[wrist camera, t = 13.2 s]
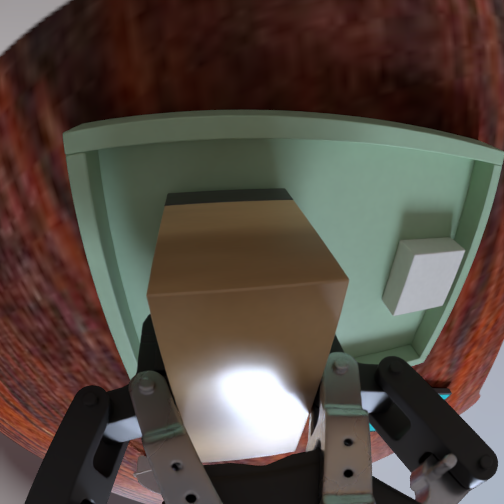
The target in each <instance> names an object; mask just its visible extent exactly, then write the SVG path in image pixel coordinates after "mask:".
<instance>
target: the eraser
mask: <svg viewBox="0 0 504 504" xmlns="http://www.w3.org/2000/svg"><path fill="white" fill-rule="evenodd" d="M348 284H349V278H348V276H347V275H346V273H345V272H344V270H343V269H342V268H341V266H340V265H339V263H338V262H337V260H336V259H335V257H334V256H333V254H332V253H331V252H330V250H329V249H328V247H327V246H326V244H325V243H324V242H323V240H322V239H321V237H320V236H319V234H318V233H317V232H316V230H315V229H314V227H313V226H312V225H311V223H310V222H309V220H308V219H307V218H306V216H305V215H304V214H303V212H302V211H301V209H300V208H299V207H298V205H297V204H296V203H295V201H294V200H293V198H292V197H291V196H290V194H289V193H288V192H287V190H286V189H285V188H270V189H237V190H214V191H196V192H180V193H168V194H167V197H166V201H165V205H164V210H163V215H162V219H161V223H160V228H159V232H158V237H157V242H156V247H155V251H154V256H153V262H152V267H151V272H150V277H149V283H148V289H147V294H146V297H147V301H148V306H149V310H150V314H151V318H152V322H153V326H154V330H155V334H156V338H157V342H158V345H159V349H160V353H161V356H162V360H163V363H164V367H165V370H166V374H167V377H168V380H169V383H170V387H171V390H172V393H173V396H174V399H175V402H176V405H177V408H178V411H179V414H180V417H181V420H182V422H183V424H184V426H185V428H186V430H187V432H188V434H189V437H190V439H191V441H192V443H193V445H194V448H195V450H196V452H197V454H198V456H199V458H200V460H201V462H202V463H203V462H218V461H230V460H240V459H248V458H256V457H263V456H270V455H276V454H282V453H288V452H293V451H295V450H296V447H297V445H298V442H299V440H300V437H301V435H302V432H303V429H304V427H305V424H306V421H307V419H308V416H309V413H310V410H311V408H312V405H313V402H314V399H315V396H316V393H317V390H318V387H319V384H320V381H321V378H322V375H323V372H324V369H325V366H326V363H327V360H328V356H329V353H330V350H331V347H332V343H333V340H334V336H335V333H336V329H337V326H338V322H339V319H340V315H341V311H342V308H343V304H344V300H345V296H346V292H347V288H348Z"/></svg>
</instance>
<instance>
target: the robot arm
mask: <svg viewBox="0 0 504 504" xmlns="http://www.w3.org/2000/svg"><path fill="white" fill-rule="evenodd" d="M369 423H370V424H371V425H372V427H373V428H374V429H375V430H376V431H377V433H378V434H379V435H380V436H381V437H382V439H383V440H384V441H385V442H386V443H387V444H388V446H389V447H390V448H391V449H392V450H393V452H394V453H395V454H396V455H397V456H398V458H399V459H400V460H401V461H402V462H403V463H404V465H405V466H406V467H407V468H408V469H409V470H410V472H411V476H410V488H411V489H412V490H413V491H414V492H415V496H416V499H415V500H414V499H412V498H411V497H409V496H407V495H405V494H403V493H401V492H400V491H398V490H396V489H394V488H392V487H391V486H389V485H387V484H385V483H384V482H382V481H380V480H379V479H377V478H375V477H374V476H372V459H371V440H370V425H369ZM139 437H142V438H141V439H142V444H143V447H144V450H145V453H146V455H147V458H148V461H149V464H150V467H151V469H152V472H153V475H154V477H155V480H156V482H157V485H158V487H159V490H160V492H161V495H162V497H163V499H164V501H163V502H162V504H458V503H459V502H460V501H461V500H462V499H463V497H464V496H465V495H466V494H467V493H468V492H469V491H470V490H472V489H474V488H476V487H477V486H479V485H480V484H482V483H483V482H485V481H487V480H488V479H490V478H491V477H492V476H493V475H494V474H495V473H496V471H497V467H498V460H497V456H496V454H495V453H494V451H493V450H492V449H491V448H490V447H489V446H488V445H487V444H486V443H485V442H484V441H483V440H482V439H481V438H480V437H479V436H478V435H477V433H476V432H475V431H474V430H473V429H472V428H471V427H470V426H469V425H468V424H467V423H466V422H465V421H464V420H463V419H462V418H461V417H460V416H459V415H458V414H457V413H456V411H455V410H454V409H453V408H452V407H451V406H450V405H449V404H448V403H447V402H446V401H445V400H444V399H443V398H442V397H441V396H440V395H439V394H438V393H437V392H436V391H435V390H434V389H433V388H432V387H431V386H430V385H429V384H428V383H427V382H426V381H425V380H424V379H423V378H422V377H421V376H420V375H419V374H418V373H417V372H416V371H415V370H414V369H413V368H412V367H411V366H410V365H409V364H408V363H407V362H406V361H405V360H403V359H402V358H400V357H396V356H388V357H385V358H383V359H382V360H381V361H380V363H379V365H378V364H364V363H359V362H357V361H356V360H355V359H354V358H353V357H352V356H351V355H349V354H347V353H344V351H343V349H342V347H341V345H340V343H339V340H338V338H337V336H336V334H335V336H334V340H333V343H332V347H331V350H330V353H329V356H328V360H327V363H326V366H325V369H324V372H323V375H322V378H321V381H320V384H319V387H318V390H317V393H316V396H315V399H314V402H313V405H312V408H311V410H310V417H309V435H308V444H307V448H306V452H302V453H297V454H292V455H290V456H287V457H285V458H283V459H280V460H278V461H276V462H273V463H271V464H268V465H265V466H255V465H244V464H235V463H227V464H214V465H203V464H202V462H201V460H200V458H199V456H198V454H197V452H196V450H195V448H194V445H193V443H192V441H191V439H190V437H189V434H188V432H187V430H186V428H185V426H184V424H183V422H182V420H181V418H180V415H179V413H178V408H177V405H176V402H175V399H174V396H173V393H172V390H171V387H170V383H169V380H168V377H167V374H166V370H165V367H164V363H163V360H162V356H161V353H160V349H159V345H158V342H157V338H156V334H155V330H154V326H153V322H152V318H151V314H149V315H148V316H147V318H146V319H145V321H144V322H143V325H142V332H141V339H140V347H139V355H138V364H137V372H136V375H135V376H134V377H133V378H132V379H131V380H130V382H129V384H128V385H126V386H124V387H122V388H119V389H116V390H112V391H108V392H106V391H105V390H104V389H103V388H101V387H99V386H93V385H92V386H86V387H84V388H82V389H81V390H79V391H78V392H77V394H76V395H75V397H74V399H73V401H72V403H71V405H70V407H69V408H68V410H67V412H66V414H65V416H64V418H63V420H62V422H61V424H60V426H59V428H58V430H57V432H56V434H55V436H54V438H53V440H52V442H51V445H50V447H49V449H48V451H47V453H46V455H45V457H44V459H43V462H42V464H41V466H40V468H39V470H38V473H37V475H36V477H35V480H34V482H33V484H32V487H31V489H30V491H29V494H28V496H27V499H26V501H25V504H107V501H108V499H109V496H110V492H111V490H112V487H113V484H114V481H115V479H116V476H117V473H118V470H119V468H120V465H121V462H122V459H123V457H124V454H125V451H126V449H127V446H128V443H129V441H130V440H132V439H136V438H139Z"/></svg>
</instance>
